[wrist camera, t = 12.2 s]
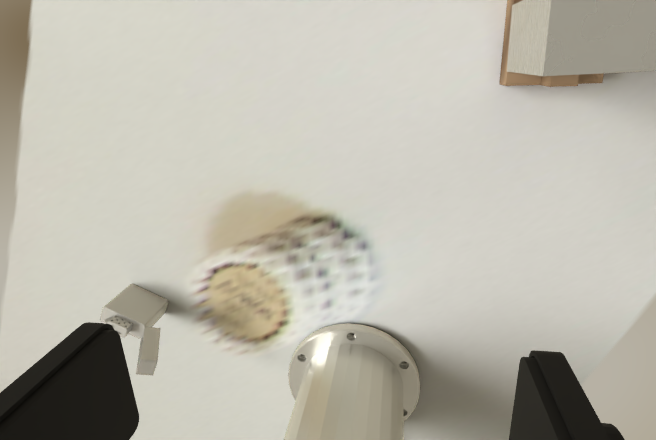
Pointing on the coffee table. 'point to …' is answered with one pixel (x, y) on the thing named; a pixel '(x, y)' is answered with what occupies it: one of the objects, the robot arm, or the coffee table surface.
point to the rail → (527, 79)
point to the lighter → (137, 322)
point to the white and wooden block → (582, 37)
